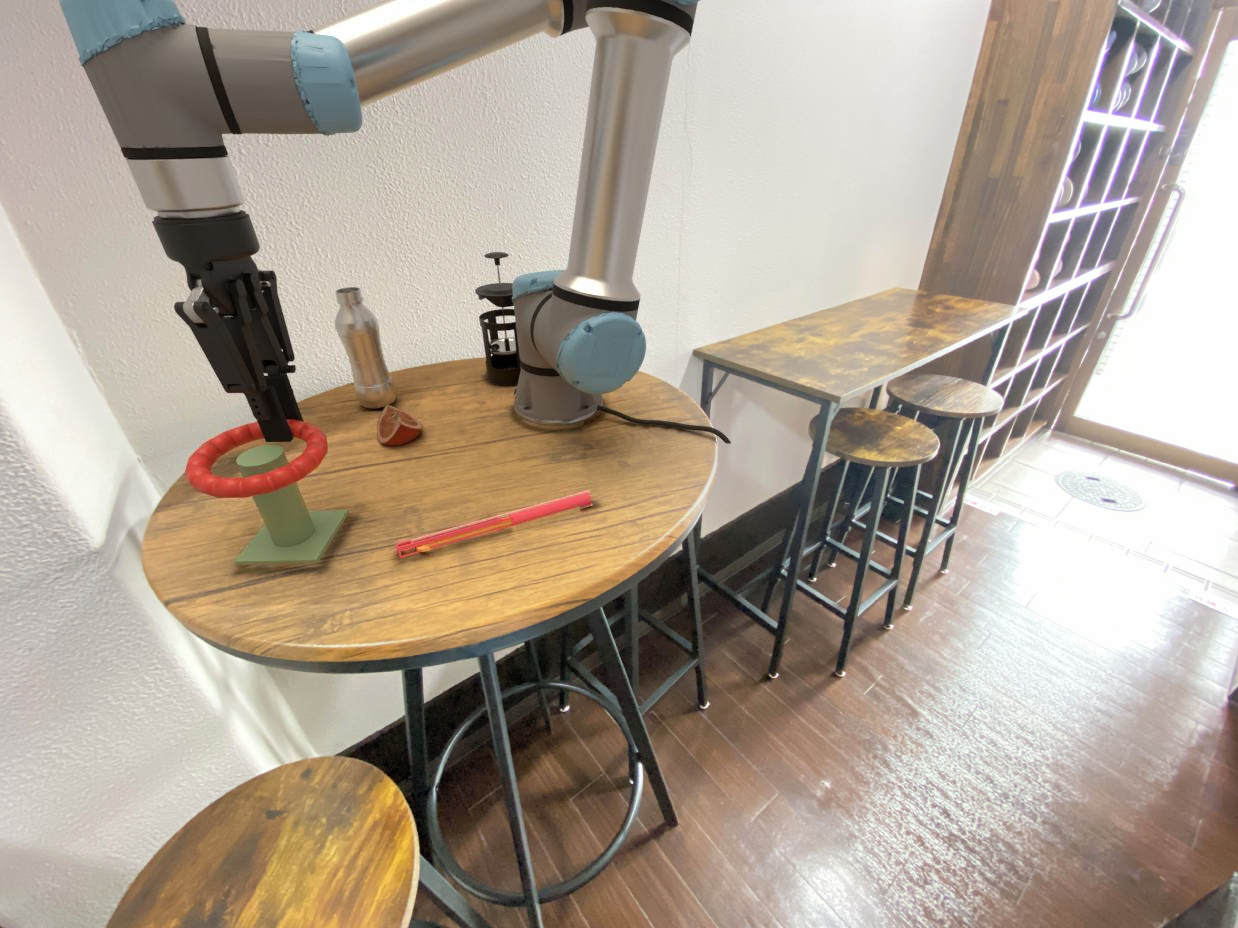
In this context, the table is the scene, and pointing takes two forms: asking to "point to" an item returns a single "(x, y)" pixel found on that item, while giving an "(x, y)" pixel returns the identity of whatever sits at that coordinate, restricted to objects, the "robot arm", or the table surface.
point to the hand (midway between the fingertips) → (286, 433)
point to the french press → (505, 347)
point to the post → (285, 517)
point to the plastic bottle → (363, 349)
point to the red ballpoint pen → (494, 523)
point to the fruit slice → (397, 427)
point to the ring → (261, 483)
